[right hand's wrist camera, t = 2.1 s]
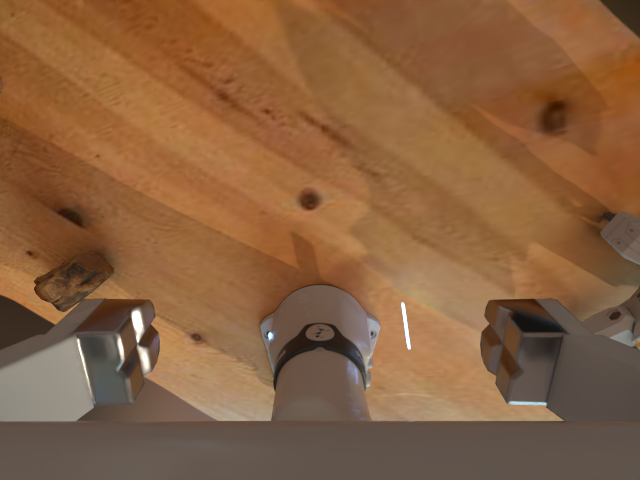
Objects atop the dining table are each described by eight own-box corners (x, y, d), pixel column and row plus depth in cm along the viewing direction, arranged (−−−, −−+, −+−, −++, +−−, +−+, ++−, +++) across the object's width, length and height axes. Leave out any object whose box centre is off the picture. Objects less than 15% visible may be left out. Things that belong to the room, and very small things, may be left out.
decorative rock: (102, 233, 60) (59, 264, 50) (130, 265, 62) (93, 301, 52) (42, 272, 63) (-11, 309, 53) (71, 302, 64) (25, 344, 54)
